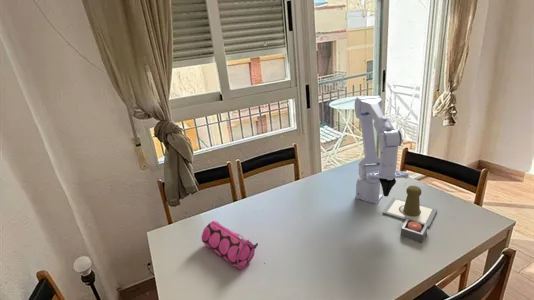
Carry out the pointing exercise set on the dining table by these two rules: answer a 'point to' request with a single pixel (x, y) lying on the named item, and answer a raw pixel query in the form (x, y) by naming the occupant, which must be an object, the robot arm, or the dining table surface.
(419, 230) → the button
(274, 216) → the dining table surface
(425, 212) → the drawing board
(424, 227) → the button base
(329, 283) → the dining table surface
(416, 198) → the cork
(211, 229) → the pencil case
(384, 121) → the robot arm
